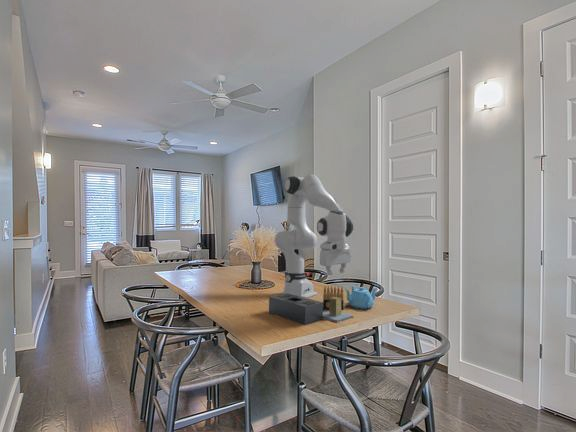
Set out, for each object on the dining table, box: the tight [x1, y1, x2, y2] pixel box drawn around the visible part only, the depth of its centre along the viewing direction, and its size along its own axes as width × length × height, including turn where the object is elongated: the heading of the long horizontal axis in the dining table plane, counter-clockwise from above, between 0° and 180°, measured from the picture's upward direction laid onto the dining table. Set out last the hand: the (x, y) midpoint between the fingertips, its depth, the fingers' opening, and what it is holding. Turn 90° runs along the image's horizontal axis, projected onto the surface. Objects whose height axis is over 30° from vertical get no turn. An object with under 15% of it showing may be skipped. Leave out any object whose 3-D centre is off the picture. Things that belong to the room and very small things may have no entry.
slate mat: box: [323, 310, 354, 323], centre depth 153 cm, size 12×12×1 cm
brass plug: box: [328, 297, 342, 317], centre depth 153 cm, size 4×4×8 cm
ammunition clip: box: [322, 285, 345, 311], centre depth 167 cm, size 11×2×12 cm, turn 91°
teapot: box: [344, 284, 378, 310], centre depth 174 cm, size 15×15×10 cm
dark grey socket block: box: [268, 293, 324, 326], centre depth 153 cm, size 12×24×8 cm, turn 44°
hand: (335, 273), depth 154 cm, fingers open, 8 cm apart
